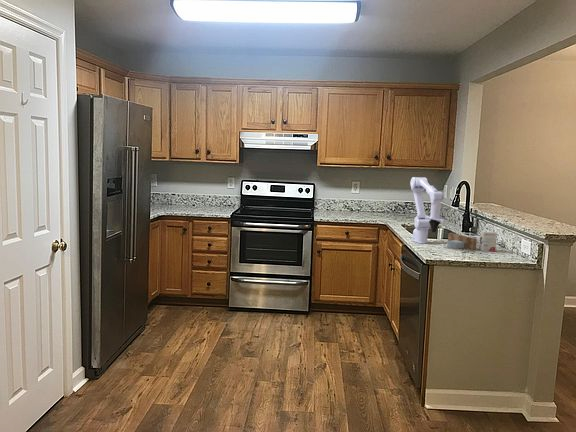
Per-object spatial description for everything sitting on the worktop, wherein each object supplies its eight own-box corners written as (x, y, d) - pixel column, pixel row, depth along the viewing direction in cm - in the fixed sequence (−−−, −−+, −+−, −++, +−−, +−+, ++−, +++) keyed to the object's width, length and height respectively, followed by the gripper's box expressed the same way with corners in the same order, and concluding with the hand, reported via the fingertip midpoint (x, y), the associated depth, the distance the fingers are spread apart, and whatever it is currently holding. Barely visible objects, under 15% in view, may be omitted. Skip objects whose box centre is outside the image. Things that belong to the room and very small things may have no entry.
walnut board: (447, 243, 312) (448, 233, 311) (451, 243, 314) (451, 233, 313) (472, 250, 295) (473, 238, 294) (475, 249, 296) (476, 238, 296)
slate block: (446, 247, 303) (447, 241, 302) (455, 246, 307) (456, 240, 306) (455, 249, 297) (455, 243, 296) (464, 248, 301) (464, 242, 300)
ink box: (492, 249, 298) (493, 231, 297) (495, 251, 293) (497, 232, 292) (478, 249, 298) (480, 230, 296) (481, 251, 293) (483, 232, 291)
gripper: (422, 209, 302) (420, 230, 304) (439, 212, 289) (437, 234, 291) (430, 209, 305) (428, 230, 307) (447, 212, 293) (446, 233, 295)
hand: (433, 232), depth 299 cm, fingers closed
